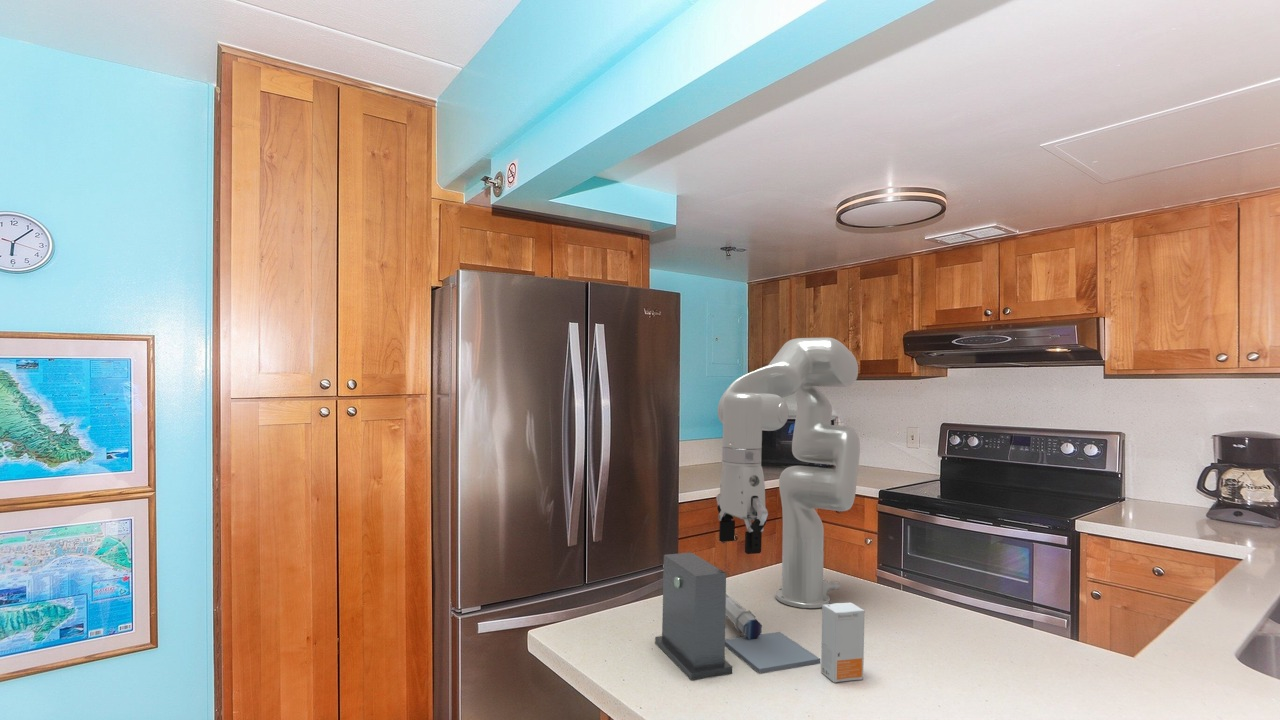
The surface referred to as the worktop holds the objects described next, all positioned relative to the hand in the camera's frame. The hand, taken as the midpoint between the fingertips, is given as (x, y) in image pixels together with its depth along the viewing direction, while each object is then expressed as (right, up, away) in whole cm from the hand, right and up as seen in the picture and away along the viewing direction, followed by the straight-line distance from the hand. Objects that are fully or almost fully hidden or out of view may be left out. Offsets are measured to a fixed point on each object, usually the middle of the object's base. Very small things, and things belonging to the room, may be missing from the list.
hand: (739, 546), depth 117 cm
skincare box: (+16, -20, -10) cm, 28 cm away
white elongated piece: (-1, -20, +14) cm, 25 cm away
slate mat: (+6, -20, -1) cm, 21 cm away
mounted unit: (-9, -19, -4) cm, 22 cm away
